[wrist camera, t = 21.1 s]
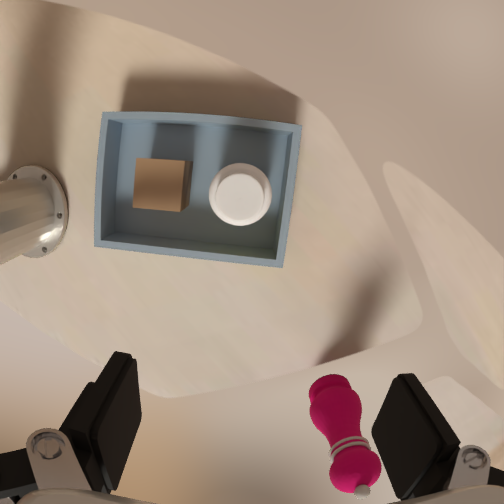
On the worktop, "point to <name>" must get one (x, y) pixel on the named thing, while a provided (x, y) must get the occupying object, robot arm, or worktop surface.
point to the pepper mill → (344, 435)
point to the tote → (194, 185)
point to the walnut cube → (162, 184)
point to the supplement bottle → (240, 194)
